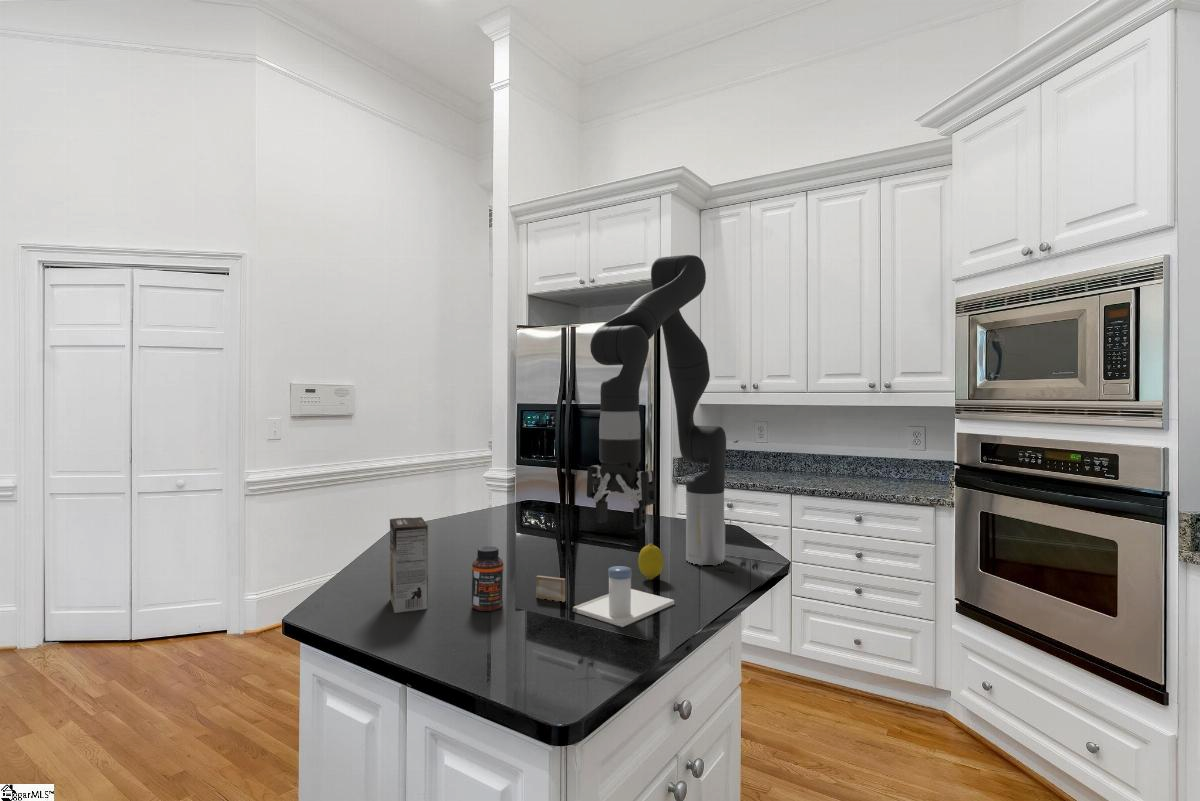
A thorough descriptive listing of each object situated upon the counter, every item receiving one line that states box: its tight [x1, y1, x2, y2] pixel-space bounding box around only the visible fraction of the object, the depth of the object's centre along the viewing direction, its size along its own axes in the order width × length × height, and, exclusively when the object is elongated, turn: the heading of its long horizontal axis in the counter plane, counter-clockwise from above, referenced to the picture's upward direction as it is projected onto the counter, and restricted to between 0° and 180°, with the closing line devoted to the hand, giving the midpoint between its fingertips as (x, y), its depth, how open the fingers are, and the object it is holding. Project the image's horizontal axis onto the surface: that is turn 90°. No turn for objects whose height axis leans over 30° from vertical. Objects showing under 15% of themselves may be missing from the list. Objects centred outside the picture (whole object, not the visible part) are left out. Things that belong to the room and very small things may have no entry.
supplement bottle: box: [471, 545, 504, 612], centre depth 119 cm, size 6×6×11 cm
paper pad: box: [572, 588, 675, 628], centre depth 119 cm, size 16×12×1 cm
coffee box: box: [389, 516, 429, 614], centre depth 121 cm, size 9×6×16 cm
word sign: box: [535, 575, 566, 603], centre depth 123 cm, size 1×6×4 cm, turn 69°
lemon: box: [637, 543, 664, 581], centre depth 137 cm, size 6×6×8 cm
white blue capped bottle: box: [607, 565, 632, 618], centre depth 113 cm, size 4×4×8 cm
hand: (620, 525), depth 113 cm, fingers open, 8 cm apart
